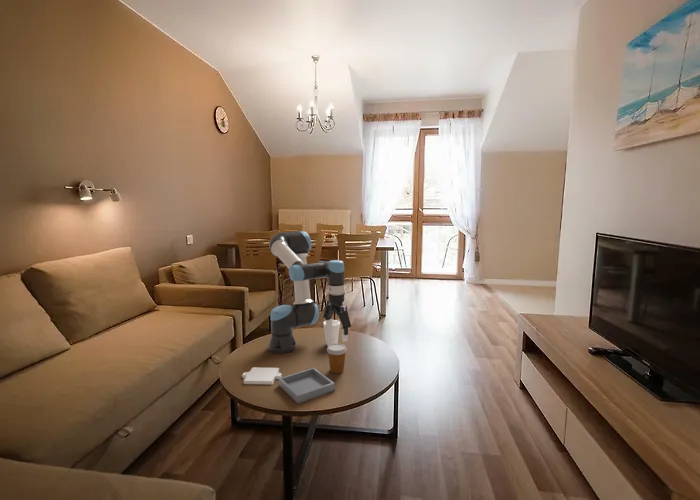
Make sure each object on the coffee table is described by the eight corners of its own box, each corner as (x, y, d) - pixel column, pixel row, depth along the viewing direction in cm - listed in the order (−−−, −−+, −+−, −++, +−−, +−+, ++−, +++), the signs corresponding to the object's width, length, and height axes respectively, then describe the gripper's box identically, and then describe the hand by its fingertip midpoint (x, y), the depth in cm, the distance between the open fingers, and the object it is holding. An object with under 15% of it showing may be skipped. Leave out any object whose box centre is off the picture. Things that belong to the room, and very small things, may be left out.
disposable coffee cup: (344, 376, 170) (344, 351, 168) (324, 374, 172) (324, 350, 170) (348, 366, 179) (348, 343, 178) (329, 365, 181) (329, 342, 179)
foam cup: (339, 347, 202) (339, 325, 200) (323, 347, 202) (322, 325, 200) (340, 341, 211) (340, 319, 210) (324, 341, 212) (324, 319, 210)
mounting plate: (238, 384, 163) (238, 380, 163) (247, 371, 176) (247, 367, 176) (277, 385, 163) (277, 381, 162) (284, 371, 175) (284, 367, 175)
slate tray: (278, 385, 161) (278, 378, 161) (314, 374, 172) (313, 367, 171) (297, 404, 147) (297, 396, 146) (334, 390, 157) (334, 383, 157)
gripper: (316, 289, 178) (316, 330, 181) (344, 300, 158) (345, 346, 161) (329, 287, 182) (329, 327, 185) (358, 297, 162) (358, 343, 165)
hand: (336, 336), depth 173 cm, fingers open, 13 cm apart
